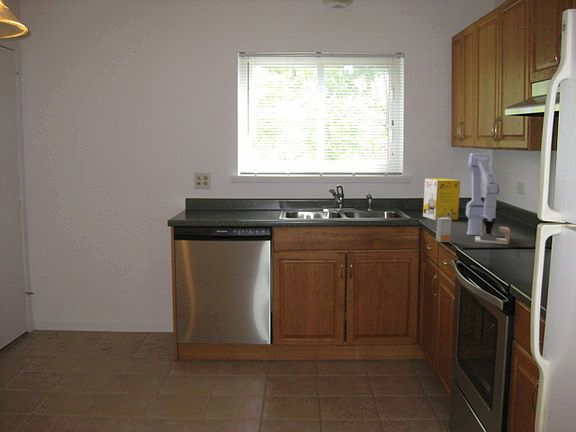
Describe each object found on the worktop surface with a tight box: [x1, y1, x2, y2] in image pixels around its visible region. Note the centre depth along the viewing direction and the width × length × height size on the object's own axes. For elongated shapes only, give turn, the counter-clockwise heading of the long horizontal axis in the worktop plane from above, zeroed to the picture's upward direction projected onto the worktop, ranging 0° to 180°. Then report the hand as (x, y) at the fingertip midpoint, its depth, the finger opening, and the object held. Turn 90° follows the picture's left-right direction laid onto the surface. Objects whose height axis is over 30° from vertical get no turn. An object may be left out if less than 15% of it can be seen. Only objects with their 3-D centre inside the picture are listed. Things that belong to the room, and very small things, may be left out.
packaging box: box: [422, 178, 461, 221], centre depth 392 cm, size 16×16×25 cm
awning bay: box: [474, 226, 511, 245], centre depth 311 cm, size 12×16×7 cm
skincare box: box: [435, 218, 452, 243], centre depth 306 cm, size 6×4×12 cm
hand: (488, 233), depth 311 cm, fingers closed on peg, 3 cm apart
